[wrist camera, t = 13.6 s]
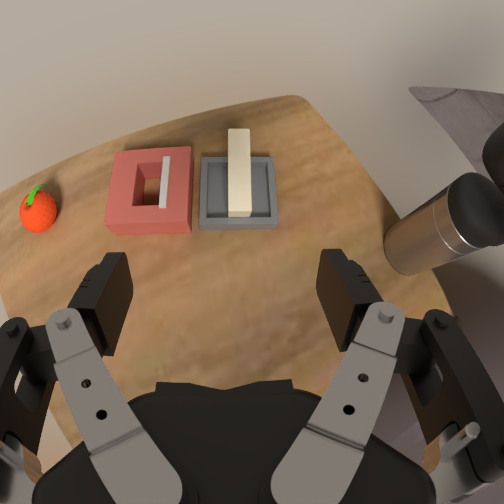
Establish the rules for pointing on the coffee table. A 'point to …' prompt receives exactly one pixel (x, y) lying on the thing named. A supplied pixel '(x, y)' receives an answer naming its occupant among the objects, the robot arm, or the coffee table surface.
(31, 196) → the clementine
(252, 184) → the tray
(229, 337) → the coffee table surface
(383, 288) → the coffee table surface
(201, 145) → the coffee table surface
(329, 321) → the robot arm
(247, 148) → the tall beige block
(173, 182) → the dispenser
